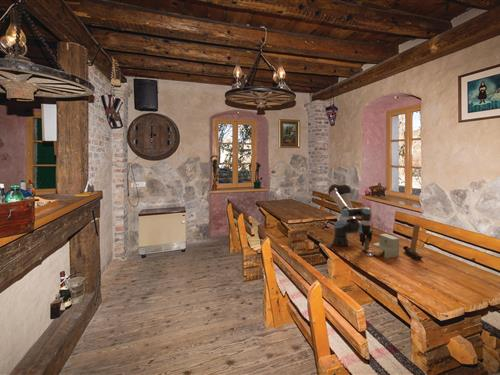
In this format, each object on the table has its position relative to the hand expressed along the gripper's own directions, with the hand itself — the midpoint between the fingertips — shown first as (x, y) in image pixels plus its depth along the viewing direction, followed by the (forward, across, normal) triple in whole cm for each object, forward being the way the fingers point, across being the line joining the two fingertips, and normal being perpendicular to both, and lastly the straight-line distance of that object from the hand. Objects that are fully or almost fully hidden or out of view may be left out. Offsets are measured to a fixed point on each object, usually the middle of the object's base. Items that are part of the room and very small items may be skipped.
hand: (365, 248), depth 249 cm
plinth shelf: (+2, +10, -13) cm, 17 cm away
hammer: (+2, +28, -26) cm, 38 cm away
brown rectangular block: (+1, 0, -7) cm, 7 cm away
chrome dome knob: (+2, -4, -10) cm, 12 cm away
